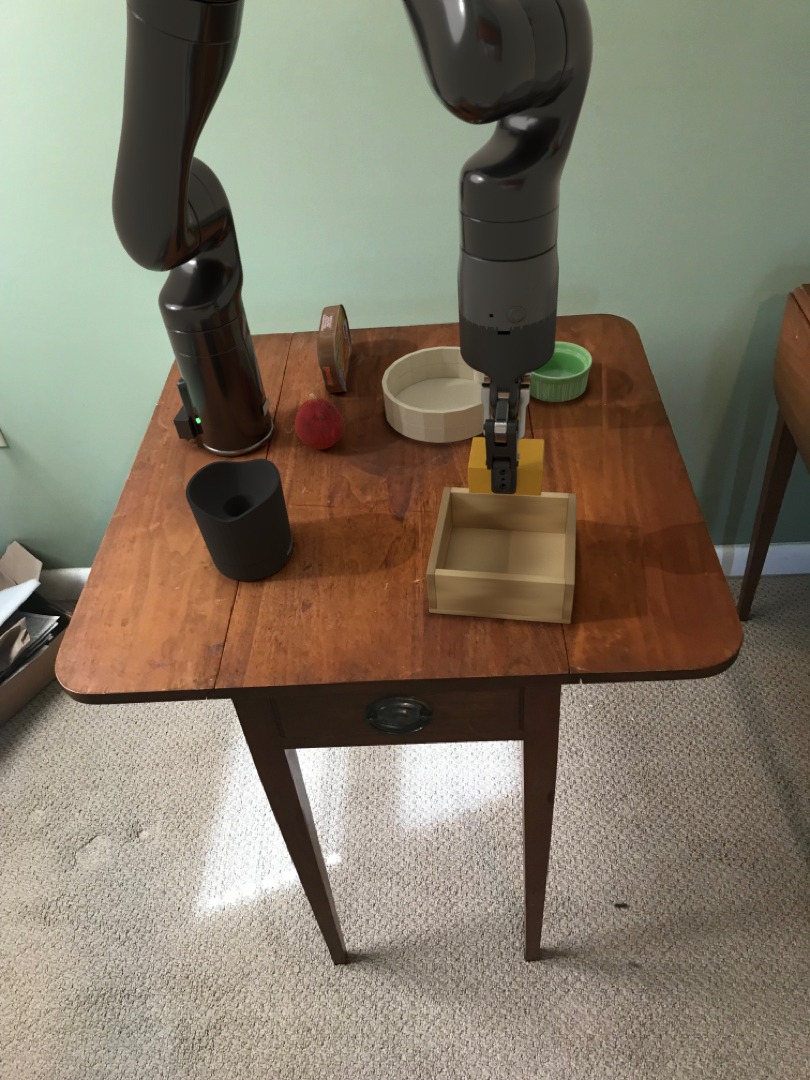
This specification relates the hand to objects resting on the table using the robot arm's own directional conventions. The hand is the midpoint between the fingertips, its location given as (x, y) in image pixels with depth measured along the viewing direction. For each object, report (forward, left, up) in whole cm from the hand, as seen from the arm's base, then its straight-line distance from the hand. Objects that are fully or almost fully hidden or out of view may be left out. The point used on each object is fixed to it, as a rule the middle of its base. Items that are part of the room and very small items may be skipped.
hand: (505, 473), depth 70 cm
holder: (0, 0, -13) cm, 13 cm away
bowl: (-10, +28, -13) cm, 32 cm away
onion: (-24, +19, -13) cm, 33 cm away
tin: (-26, +36, -13) cm, 46 cm away
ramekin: (+4, +34, -13) cm, 36 cm away
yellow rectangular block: (0, 0, -1) cm, 1 cm away
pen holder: (-27, 0, -13) cm, 30 cm away
